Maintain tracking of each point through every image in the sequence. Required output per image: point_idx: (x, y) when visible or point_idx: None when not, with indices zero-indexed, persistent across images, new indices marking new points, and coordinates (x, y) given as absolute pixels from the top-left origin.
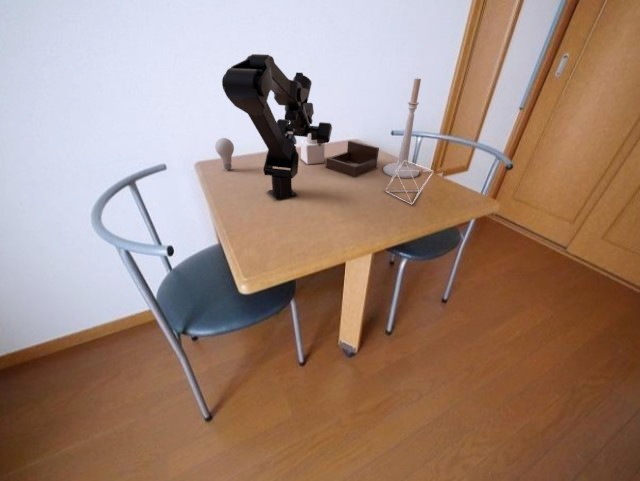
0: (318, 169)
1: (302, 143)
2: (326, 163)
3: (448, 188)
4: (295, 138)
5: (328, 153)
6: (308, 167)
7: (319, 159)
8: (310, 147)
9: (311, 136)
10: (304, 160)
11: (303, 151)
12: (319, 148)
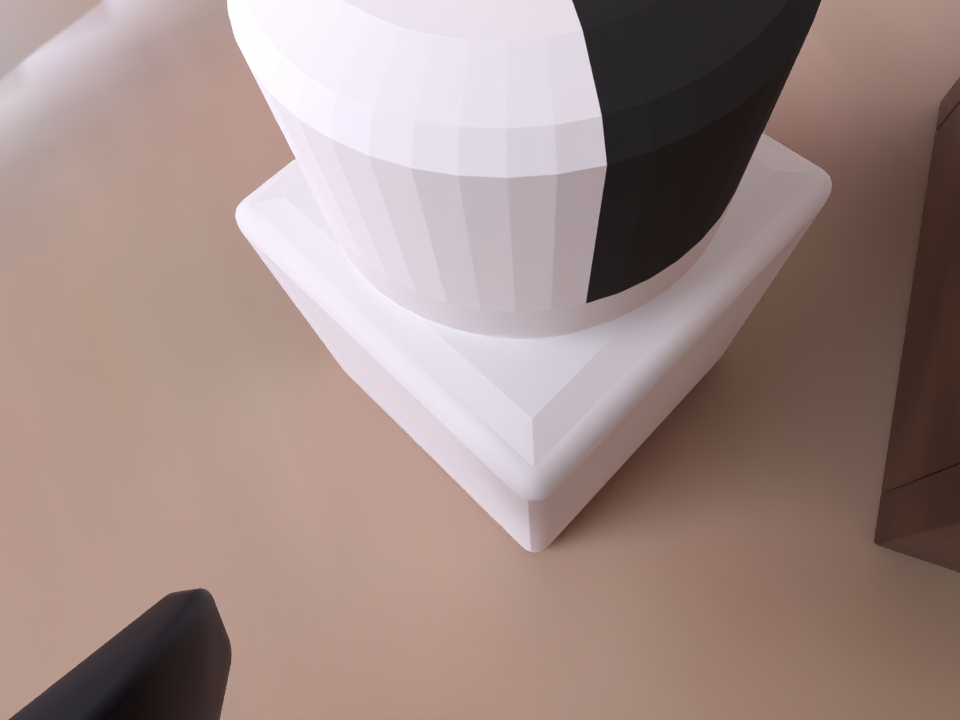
0: (816, 695)
1: (309, 297)
2: (916, 536)
3: None
4: (115, 711)
5: None
6: (613, 674)
7: (687, 391)
8: (598, 452)
9: (605, 242)
10: (444, 468)
11: (387, 396)
12: (736, 309)
